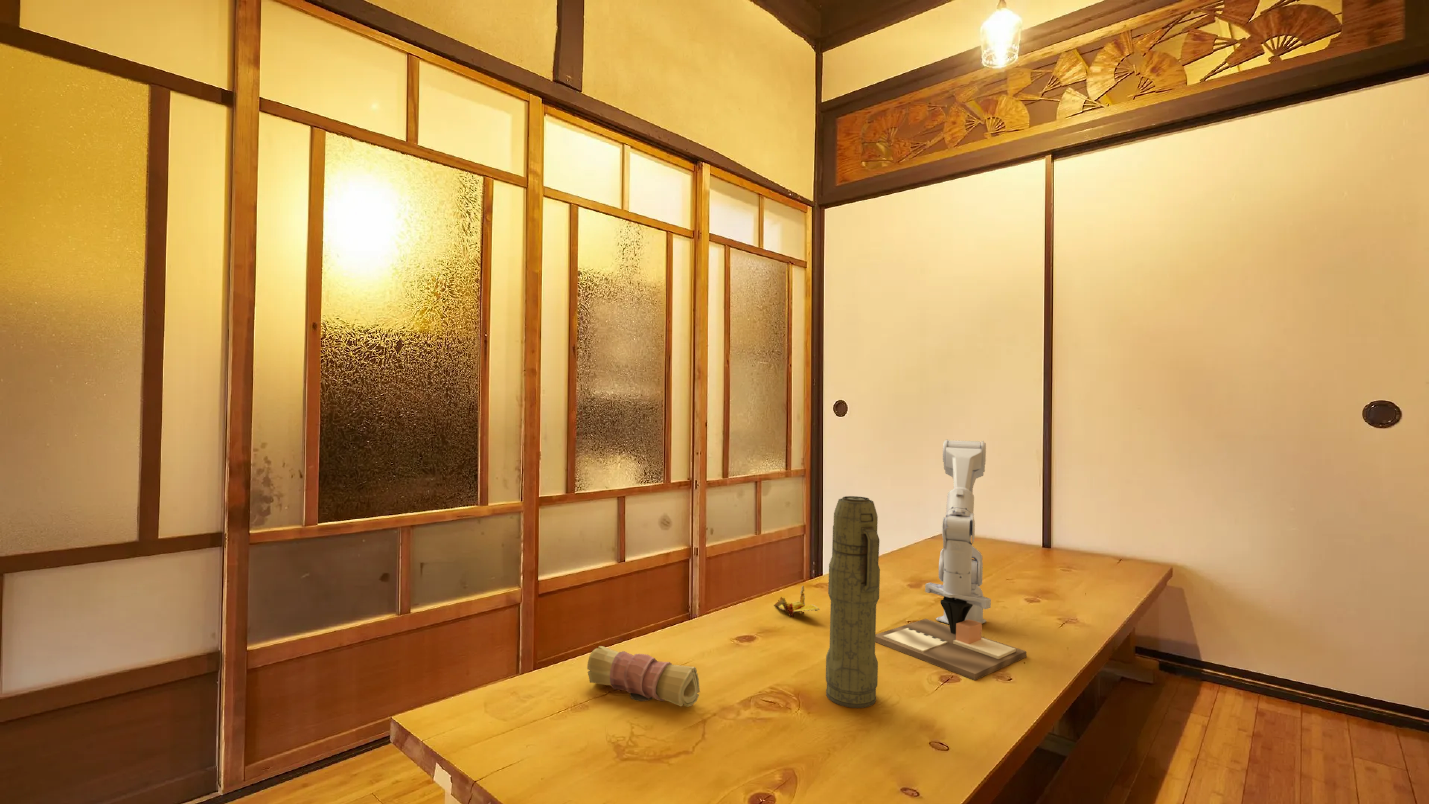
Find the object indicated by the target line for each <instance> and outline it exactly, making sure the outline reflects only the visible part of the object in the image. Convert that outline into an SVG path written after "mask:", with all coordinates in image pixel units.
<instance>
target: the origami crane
mask: <svg viewBox="0 0 1429 804" xmlns="http://www.w3.org/2000/svg"><path fill="white" fill-rule="evenodd" d="M800 589H801V590H800V597H799V598H800V600H797V601H794V602H787V599H786V598H785V597H784V596H780V598H779V599H778V600H777V601H776V602H775V604H774V606H775V607H777V608H779V609H780V610H782V611H785V612H786V613H787V612H788V616H789V617H791V618H794V617H795V616H794V614H795V613H796V612H797V613H798V612H799V613H801V614H805V611H807V612H808V611H815V612H818V611H820V608H819V607H818V606H817V605H815V604H807V605H806V603H805V599H806V598H805V597H806V596H805V593H804V592H805V586H804V585H802V586H801V588H800Z"/></svg>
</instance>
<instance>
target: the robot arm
mask: <svg viewBox="0 0 1429 804" xmlns="http://www.w3.org/2000/svg"><path fill="white" fill-rule="evenodd" d="M986 454H987V444H986V442H985V441H984V440H981V441H978V440H977V441H976V440H975V441H974V440H954V439H953V440H950V439H945V440H943V444H942V462H943V469H944V473H945V474H946V475H948V476H949V477H951V478H952V481H953V488H952V489H950V490H948V492H947V495H946V497H947V498H946V508H945V509H946V510H945V516H943V518H942V523H941V524H942V525H941V534H942V535H941V538H942V547H943V548H942V549H941V550H940V552H939V553H940V554H939V559H938V579H939V580H940V582H941V583H943V584H940V583H934V582H928V583H925V586H924V587H925V590H924V592H925V593H927V594H935V595H937V596H940V597H943V598H942V599H941V600H940V606H941V607H942V609H943V615H941V616H938V617H936V618H935V620H936V621H938V622H940V623H941V622H942V623H943V624H944V623H945V624H946V625H947V624H948V626H950V631H951V633H952V634H955V635H956V623H959V622H962V621H965V620H968V619H970V620H973V621H977V622H980V623H982V624H984V623H987V619H984V610H988V609H991V608H992V607H991V606H992V605H991V604H992V601H991V600H992V599H991V598H990V597H986V596H984V594H983V590H982V588H981V586H982V585H983V575H984V574H983V572H984V571H983V568H984V566H983V565H984V563H983V555H982V553H981V551H979V550H978V549H977V548H976V547H975V546H973V544H974V542H975V537H976V536H975V531H976V528H975V527H976V526H975V525H976V522H975V516H974V515H975V514H974V507H975V496H974V494H973V493H974V492H973V491H974V490H973V489H974V486H975V483H976V480H977V479H979V478H981V477H983V476H984V473H985V471H986V469H985V468H986V461H987V458H986V457H987V456H986Z"/></svg>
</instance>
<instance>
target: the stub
mask: <svg viewBox="0 0 1429 804" xmlns="http://www.w3.org/2000/svg"><path fill="white" fill-rule="evenodd" d="M982 624H983V623H980V622H977V621H973V620H970V619H968V620H965V621H962V622H959V623H956V640H954V641H953V644H956V645H959V646H962V647H965V648H967V649H970V650H973V651H976V652H979V653H982V654H985V655H988V656H991V657H994V658H996V659H1000V658H1002V657H1005V656H1007V655H1009V654H1012V653H1014V652H1016V649H1015V648H1016V647H1015V648H1012V647H1013V646H1012V647H1009V646H1010V645H1009V646H1006V645H1007V644H1006V645H1003V644H1004V643H1003V644H1000V643H1001V642H1000V643H996V642H993V641H990V640H991V639H990V640H987V639H988V638H987V639H984V638H985V637H984V638H981V637H982V629H983V628H982V627H983V625H982Z"/></svg>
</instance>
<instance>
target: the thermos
mask: <svg viewBox="0 0 1429 804" xmlns="http://www.w3.org/2000/svg"><path fill="white" fill-rule="evenodd" d="M878 517H879V516H878V512H877V510H876V506H875V502H874V501H873V500H872V499H870V498H868V497H865V496H853V495H846V496H843V497H842V498H838V501H837V503H836V505H835V508H834V512H833V525H832V545H831V546H832V547H831V549H832V550H831V552H832V553H831V558H830V561H829V564H828V589H827V590H828V591H827V592H828V596H829V600H830V611H829V612H830V615H829V616H830V618H829V619H830V620H829V648H828V651H827V653H826V656H825V682H826V689H825V693H826V695H825V696H826V697H827V699H828V700H829V701H831V702H832V703H834V704H836V705H838V706H842V707H846V708H852V709H854V708H855V709H862V708H863V709H864V708H868V707H871V706H873V705H874V704H875V703H876V701H877V687H878V677H879V676H878V675H879V671H878V670H879V662H878V658H877V655H876V642H875V634H877V633H876V629H877V627H876V625H877V604H878V601H879V599H880V584H881V583H880V582H881V581H880V579H881V578H880V577H881V575H880V574H881V569H880V565H879V561H880V560H879V558H880V557H879V556H880V538H879V534H878V522H879V521H878Z"/></svg>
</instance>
